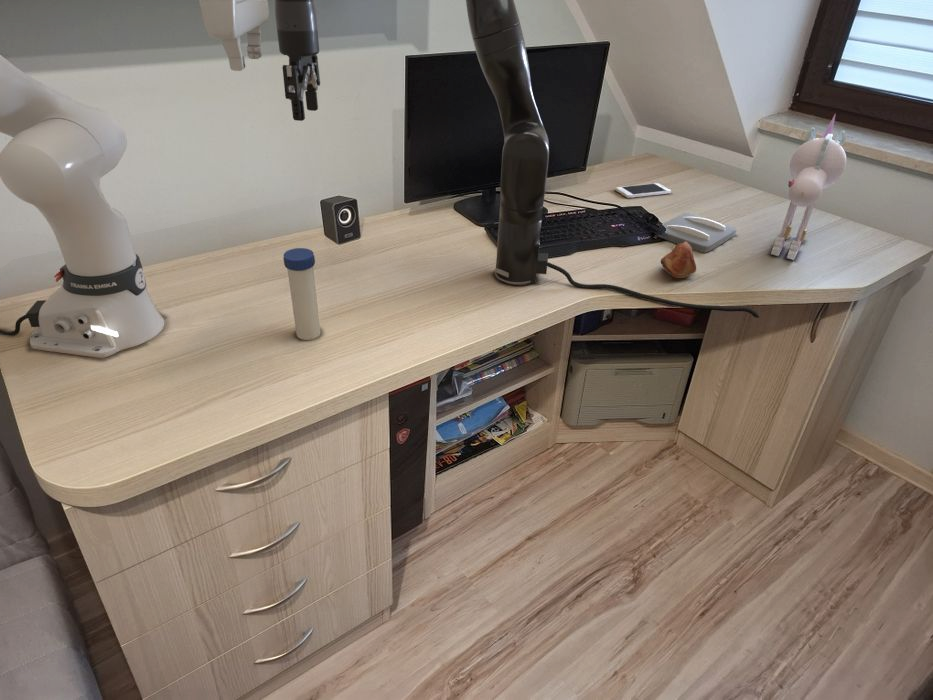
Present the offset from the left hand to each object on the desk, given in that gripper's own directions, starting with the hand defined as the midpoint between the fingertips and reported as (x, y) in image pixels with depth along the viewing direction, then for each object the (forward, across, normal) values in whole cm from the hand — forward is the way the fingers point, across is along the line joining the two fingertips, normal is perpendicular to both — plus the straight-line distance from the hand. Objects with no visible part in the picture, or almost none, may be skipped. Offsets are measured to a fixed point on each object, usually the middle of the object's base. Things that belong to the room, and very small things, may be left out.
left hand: (247, 63), depth 95 cm
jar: (+48, 0, +4) cm, 48 cm away
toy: (+48, -50, +121) cm, 139 cm away
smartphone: (+48, -84, +90) cm, 132 cm away
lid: (+31, 0, +4) cm, 32 cm away
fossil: (+48, -29, +84) cm, 101 cm away
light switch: (+48, -52, +95) cm, 119 cm away
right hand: (+15, -32, +1) cm, 35 cm away
